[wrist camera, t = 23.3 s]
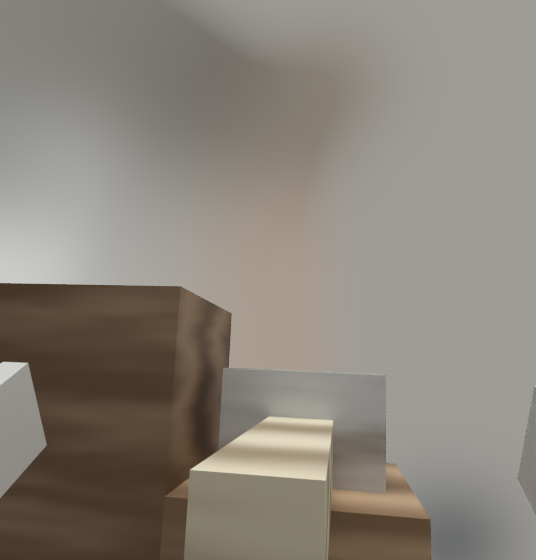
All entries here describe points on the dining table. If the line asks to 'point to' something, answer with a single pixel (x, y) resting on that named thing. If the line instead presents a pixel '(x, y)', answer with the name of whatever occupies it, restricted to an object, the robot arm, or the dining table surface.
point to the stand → (143, 429)
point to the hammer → (285, 462)
